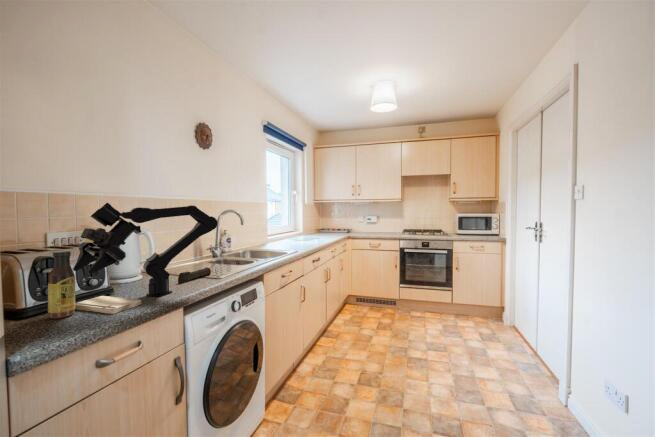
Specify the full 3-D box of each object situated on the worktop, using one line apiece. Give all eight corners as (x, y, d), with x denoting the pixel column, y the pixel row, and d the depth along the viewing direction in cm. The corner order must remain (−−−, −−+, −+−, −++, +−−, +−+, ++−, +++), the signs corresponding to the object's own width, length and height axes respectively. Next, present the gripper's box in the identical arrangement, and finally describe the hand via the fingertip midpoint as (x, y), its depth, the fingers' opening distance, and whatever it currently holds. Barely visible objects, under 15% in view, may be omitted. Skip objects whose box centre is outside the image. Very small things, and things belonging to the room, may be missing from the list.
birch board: (102, 299, 107) (102, 295, 107) (141, 304, 102) (141, 299, 102) (70, 309, 97) (69, 304, 97) (111, 314, 92) (111, 309, 92)
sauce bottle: (64, 319, 88) (62, 253, 87) (42, 320, 87) (40, 253, 87) (81, 311, 94) (79, 249, 94) (60, 312, 94) (58, 250, 93)
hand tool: (204, 274, 149) (204, 265, 149) (211, 275, 148) (211, 266, 148) (173, 283, 131) (173, 273, 131) (180, 284, 130) (180, 273, 130)
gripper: (84, 219, 104) (44, 254, 94) (115, 220, 95) (74, 259, 86) (109, 239, 111) (74, 274, 101) (140, 242, 102) (105, 280, 93)
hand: (81, 271), depth 95 cm, fingers open, 9 cm apart
